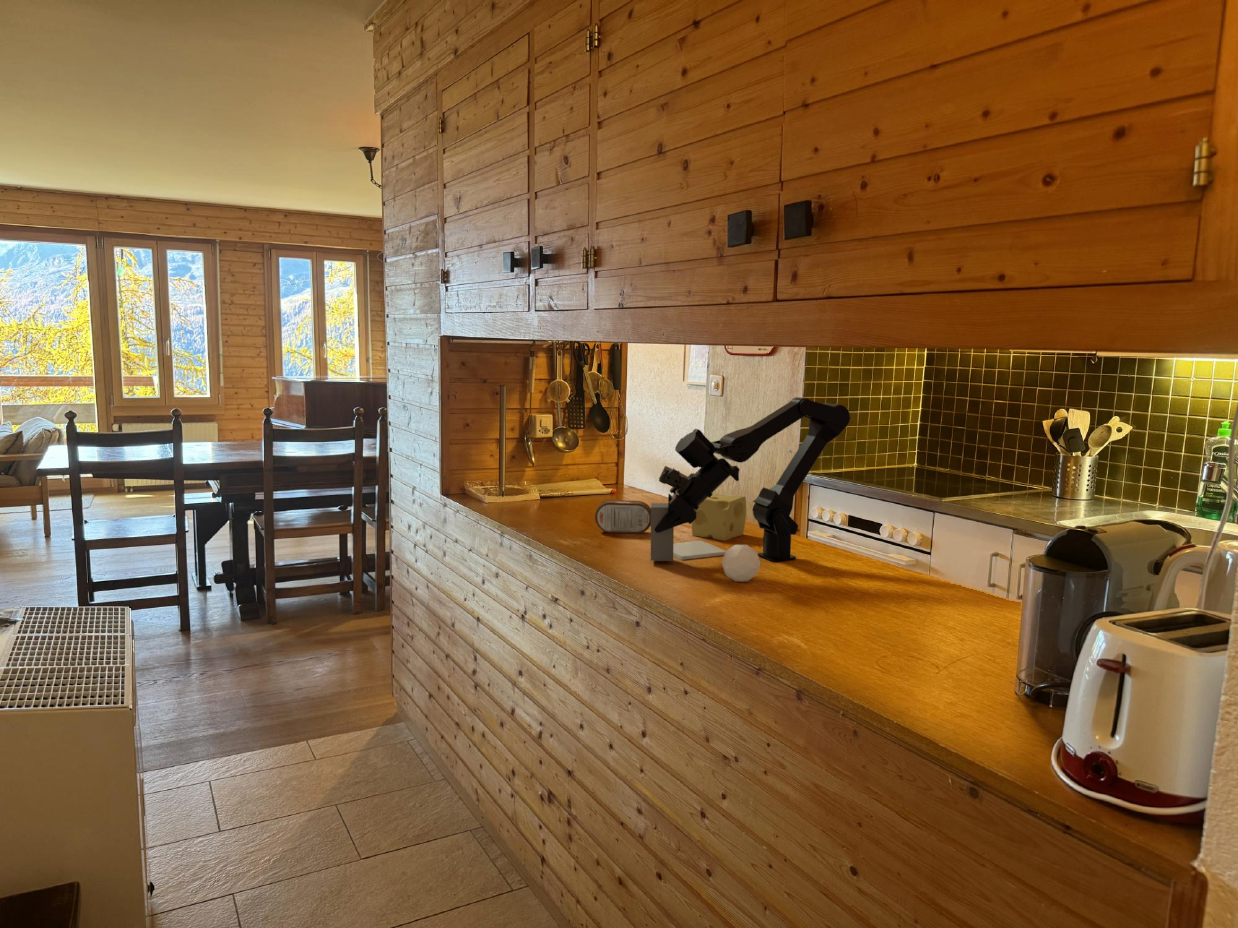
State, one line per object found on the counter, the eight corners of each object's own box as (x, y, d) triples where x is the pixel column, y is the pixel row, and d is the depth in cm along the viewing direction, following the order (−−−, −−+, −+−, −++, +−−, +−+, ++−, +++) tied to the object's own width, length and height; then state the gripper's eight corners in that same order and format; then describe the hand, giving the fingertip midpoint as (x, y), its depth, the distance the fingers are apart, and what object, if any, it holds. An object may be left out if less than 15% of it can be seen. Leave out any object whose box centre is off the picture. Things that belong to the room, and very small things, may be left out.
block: (673, 555, 198) (673, 503, 196) (673, 560, 193) (673, 507, 191) (651, 554, 198) (651, 503, 196) (650, 560, 193) (650, 507, 191)
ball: (735, 595, 179) (716, 568, 176) (732, 572, 186) (714, 546, 183) (768, 580, 177) (750, 552, 174) (764, 557, 184) (746, 530, 181)
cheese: (725, 541, 216) (726, 502, 214) (689, 535, 222) (689, 497, 221) (746, 534, 224) (747, 496, 223) (710, 528, 230) (711, 491, 229)
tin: (653, 532, 226) (653, 500, 225) (652, 534, 223) (652, 502, 222) (595, 530, 228) (595, 499, 226) (594, 533, 224) (594, 501, 223)
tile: (726, 554, 202) (726, 551, 202) (681, 559, 197) (681, 556, 197) (700, 543, 213) (700, 540, 213) (657, 548, 208) (657, 545, 208)
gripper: (680, 449, 201) (632, 495, 203) (681, 460, 182) (628, 511, 185) (714, 483, 202) (665, 529, 204) (718, 497, 183) (665, 548, 185)
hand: (656, 528), depth 194 cm, fingers closed on block, 5 cm apart
